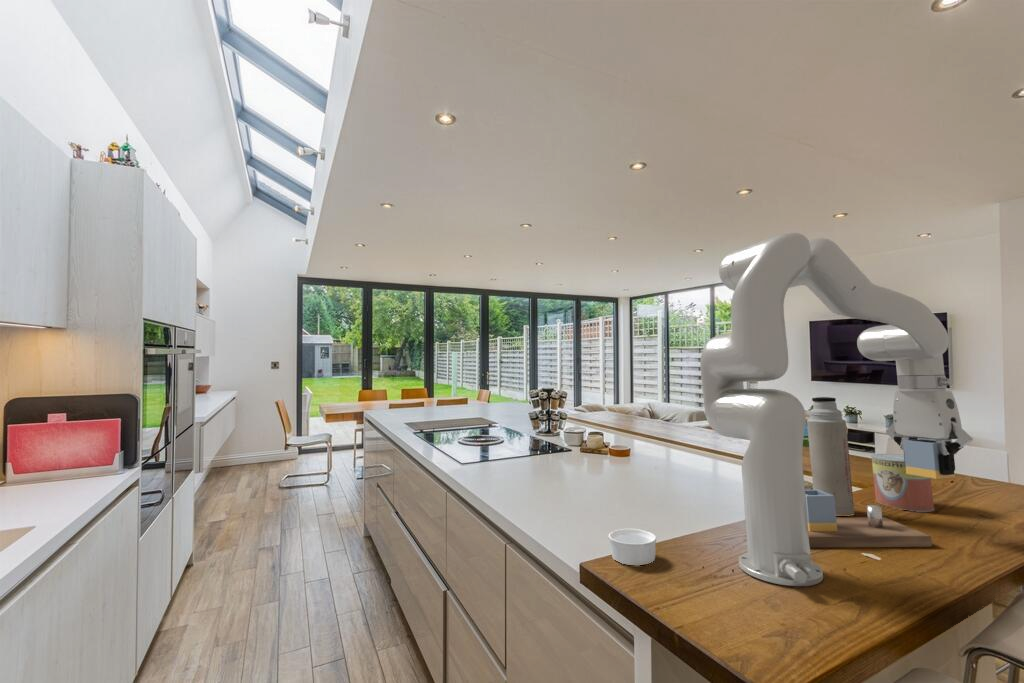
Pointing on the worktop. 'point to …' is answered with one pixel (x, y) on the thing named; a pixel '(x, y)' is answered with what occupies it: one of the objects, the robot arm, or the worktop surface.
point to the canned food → (900, 484)
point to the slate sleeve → (923, 458)
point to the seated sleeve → (820, 511)
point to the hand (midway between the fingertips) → (929, 470)
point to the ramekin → (632, 546)
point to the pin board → (869, 533)
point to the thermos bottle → (830, 453)
